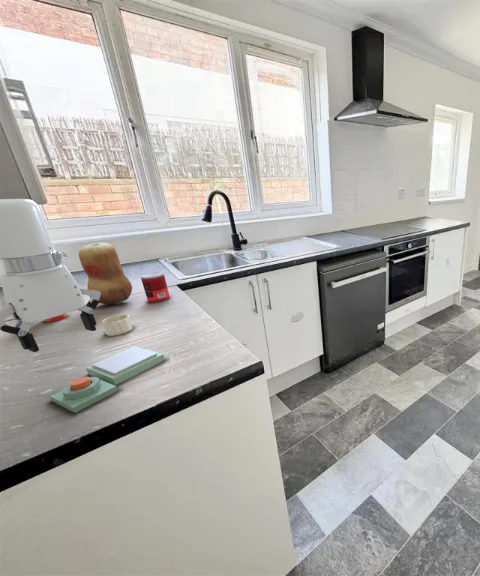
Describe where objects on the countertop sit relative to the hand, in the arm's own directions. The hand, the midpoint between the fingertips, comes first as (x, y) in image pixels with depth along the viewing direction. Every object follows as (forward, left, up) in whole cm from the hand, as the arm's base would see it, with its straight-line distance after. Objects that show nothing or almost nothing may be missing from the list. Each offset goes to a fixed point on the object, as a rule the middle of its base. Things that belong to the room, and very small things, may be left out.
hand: (64, 339), depth 67 cm
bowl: (+23, +31, -15) cm, 41 cm away
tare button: (0, 0, -12) cm, 12 cm away
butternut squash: (+37, +61, -15) cm, 73 cm away
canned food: (+47, +49, -15) cm, 69 cm away
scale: (+11, +4, -15) cm, 19 cm away
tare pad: (0, 0, -15) cm, 15 cm away
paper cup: (+20, +65, -15) cm, 69 cm away
